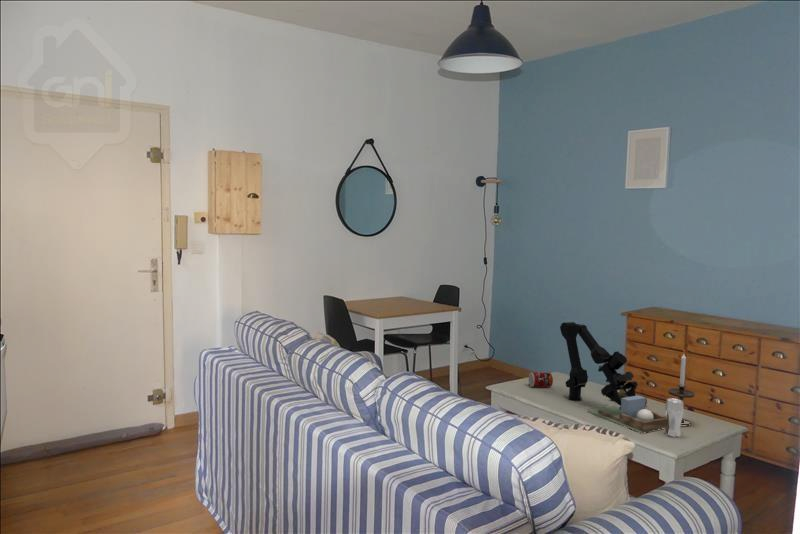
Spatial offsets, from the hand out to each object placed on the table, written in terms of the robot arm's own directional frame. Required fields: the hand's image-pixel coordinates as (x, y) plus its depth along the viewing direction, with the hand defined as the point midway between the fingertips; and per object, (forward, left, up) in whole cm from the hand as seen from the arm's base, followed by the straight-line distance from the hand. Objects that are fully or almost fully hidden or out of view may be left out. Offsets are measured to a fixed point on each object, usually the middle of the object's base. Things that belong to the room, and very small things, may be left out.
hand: (629, 404), depth 269 cm
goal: (0, 0, -7) cm, 7 cm away
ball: (+6, +6, -3) cm, 10 cm away
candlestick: (-4, +22, -7) cm, 23 cm away
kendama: (-28, +1, -8) cm, 29 cm away
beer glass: (+14, +17, -7) cm, 23 cm away
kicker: (+2, +2, -7) cm, 7 cm away
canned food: (-43, -37, -3) cm, 57 cm away
